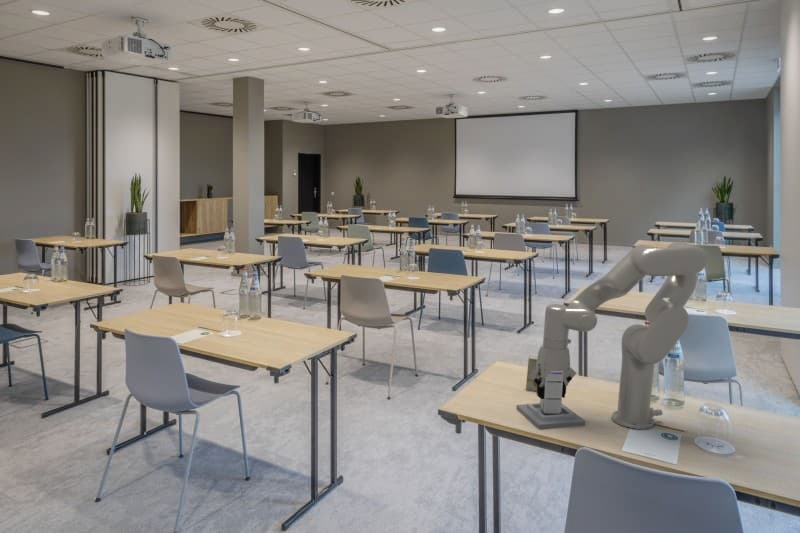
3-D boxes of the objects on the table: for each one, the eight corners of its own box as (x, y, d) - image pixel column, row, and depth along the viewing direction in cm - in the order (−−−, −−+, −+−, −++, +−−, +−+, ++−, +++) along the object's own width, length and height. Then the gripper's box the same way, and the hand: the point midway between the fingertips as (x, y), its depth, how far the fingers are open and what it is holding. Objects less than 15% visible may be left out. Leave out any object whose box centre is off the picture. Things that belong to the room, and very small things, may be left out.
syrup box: (561, 414, 186) (564, 370, 184) (542, 413, 186) (546, 369, 184) (556, 407, 192) (560, 364, 190) (538, 406, 192) (542, 364, 190)
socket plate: (559, 405, 199) (560, 398, 199) (585, 425, 184) (585, 417, 183) (516, 409, 195) (516, 401, 195) (538, 429, 180) (539, 421, 179)
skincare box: (525, 390, 213) (527, 357, 211) (526, 386, 217) (528, 354, 215) (543, 392, 211) (545, 360, 209) (544, 388, 215) (546, 356, 213)
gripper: (573, 339, 191) (569, 391, 194) (524, 341, 187) (521, 394, 190) (586, 345, 184) (581, 399, 187) (535, 347, 180) (531, 402, 183)
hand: (551, 396), depth 188 cm, fingers closed on syrup box, 6 cm apart
